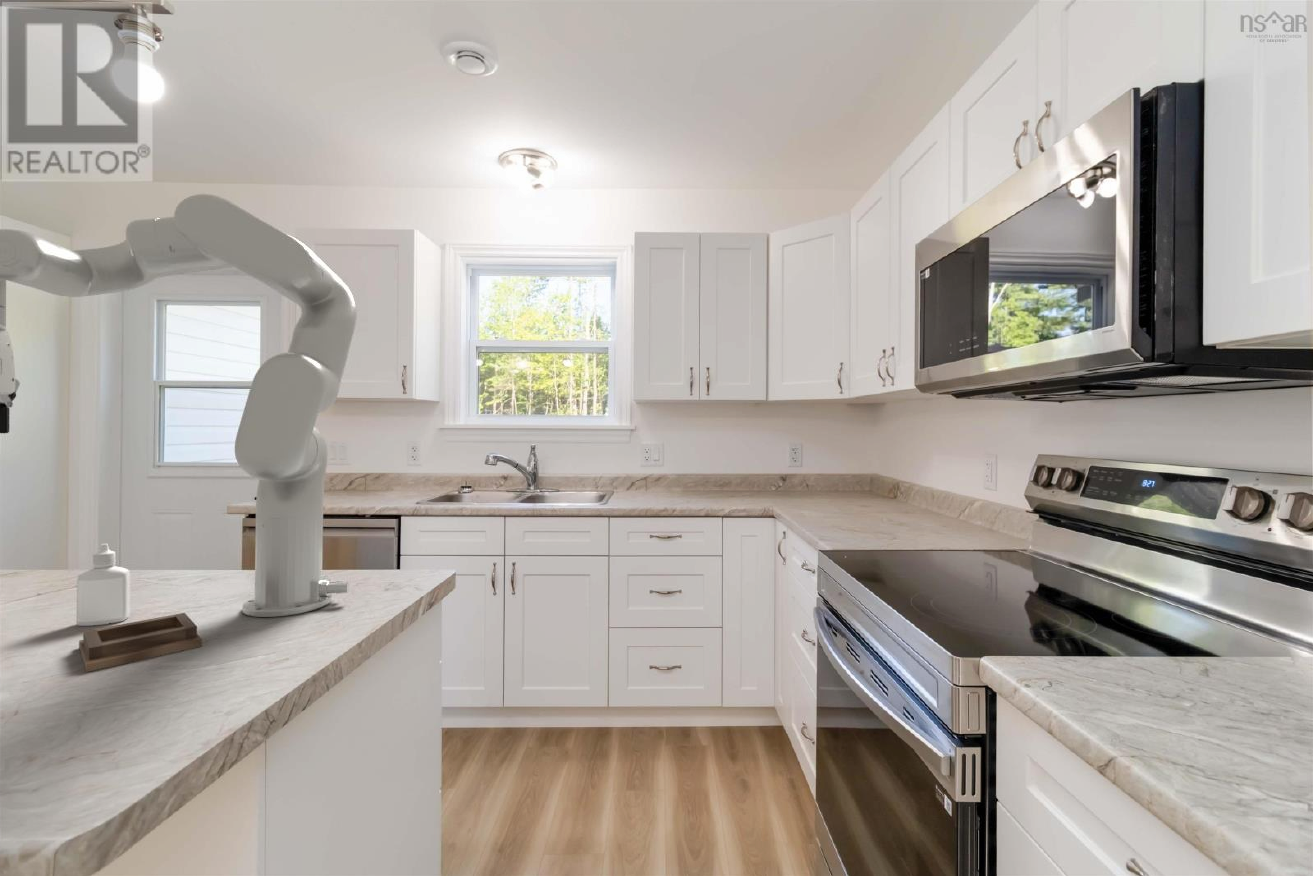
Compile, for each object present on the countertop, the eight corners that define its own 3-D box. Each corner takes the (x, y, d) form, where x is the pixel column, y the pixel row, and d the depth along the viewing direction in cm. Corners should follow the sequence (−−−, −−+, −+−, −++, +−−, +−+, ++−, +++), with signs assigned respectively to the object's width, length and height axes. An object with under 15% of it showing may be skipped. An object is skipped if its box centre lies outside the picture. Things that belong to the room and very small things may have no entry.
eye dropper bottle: (107, 627, 81) (108, 547, 81) (70, 626, 81) (70, 546, 81) (135, 617, 85) (136, 541, 85) (100, 616, 85) (101, 540, 85)
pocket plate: (185, 626, 82) (185, 610, 82) (201, 646, 75) (201, 628, 75) (79, 648, 73) (79, 629, 73) (86, 672, 66) (86, 651, 66)
